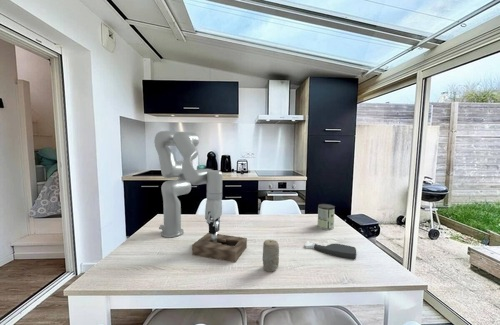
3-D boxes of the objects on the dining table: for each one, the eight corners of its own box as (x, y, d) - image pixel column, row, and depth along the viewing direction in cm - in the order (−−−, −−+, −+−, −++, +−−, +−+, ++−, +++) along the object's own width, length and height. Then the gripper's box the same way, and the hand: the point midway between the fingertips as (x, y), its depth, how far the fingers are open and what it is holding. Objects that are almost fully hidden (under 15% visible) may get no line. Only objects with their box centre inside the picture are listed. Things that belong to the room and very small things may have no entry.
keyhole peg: (206, 250, 113) (206, 222, 112) (211, 245, 118) (211, 218, 117) (216, 252, 111) (217, 223, 110) (221, 247, 116) (221, 220, 115)
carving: (259, 269, 97) (259, 241, 96) (270, 263, 103) (271, 236, 102) (270, 275, 93) (271, 246, 92) (281, 268, 98) (282, 241, 97)
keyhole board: (192, 254, 109) (192, 244, 109) (208, 241, 124) (208, 232, 124) (235, 262, 103) (235, 251, 102) (246, 247, 118) (246, 238, 117)
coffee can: (319, 223, 157) (320, 203, 156) (335, 226, 151) (336, 205, 150) (315, 227, 148) (316, 206, 147) (331, 231, 143) (332, 208, 142)
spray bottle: (355, 261, 106) (302, 251, 116) (356, 251, 116) (307, 243, 126) (356, 255, 106) (302, 245, 116) (356, 246, 116) (307, 237, 126)
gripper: (215, 191, 122) (214, 225, 123) (198, 198, 106) (198, 237, 107) (228, 193, 119) (227, 227, 121) (213, 200, 103) (213, 239, 105)
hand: (214, 231), depth 114 cm, fingers closed on keyhole peg, 4 cm apart
